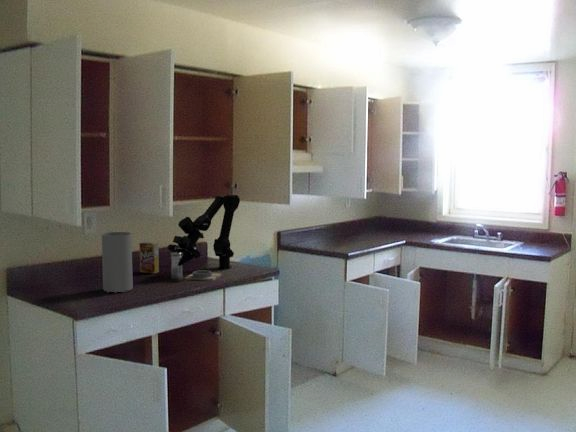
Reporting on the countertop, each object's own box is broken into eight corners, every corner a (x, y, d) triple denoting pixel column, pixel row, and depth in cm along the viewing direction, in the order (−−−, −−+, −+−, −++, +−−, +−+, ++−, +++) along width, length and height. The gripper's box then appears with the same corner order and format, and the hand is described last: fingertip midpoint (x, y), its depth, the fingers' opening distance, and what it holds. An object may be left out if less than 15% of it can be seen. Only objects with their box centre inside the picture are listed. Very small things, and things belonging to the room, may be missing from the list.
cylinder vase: (101, 288, 260) (99, 232, 258) (129, 285, 266) (128, 231, 263) (105, 294, 249) (104, 236, 247) (135, 291, 255) (134, 234, 252)
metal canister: (174, 276, 287) (173, 251, 285) (184, 277, 286) (184, 251, 284) (169, 278, 281) (168, 253, 280) (180, 279, 280) (179, 253, 279)
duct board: (195, 273, 294) (195, 271, 294) (222, 275, 291) (222, 273, 291) (185, 279, 280) (185, 277, 280) (212, 280, 277) (212, 278, 277)
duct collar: (196, 273, 289) (196, 269, 288) (214, 274, 287) (214, 270, 286) (190, 277, 280) (190, 273, 280) (207, 278, 278) (207, 274, 278)
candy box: (139, 272, 296) (138, 242, 295) (144, 271, 300) (143, 241, 299) (154, 273, 293) (153, 243, 292) (159, 272, 297) (158, 242, 296)
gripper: (169, 228, 290) (152, 252, 282) (195, 231, 279) (178, 257, 271) (181, 242, 297) (165, 266, 289) (207, 245, 286) (191, 271, 278)
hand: (174, 265), depth 282 cm, fingers closed on metal canister, 5 cm apart
